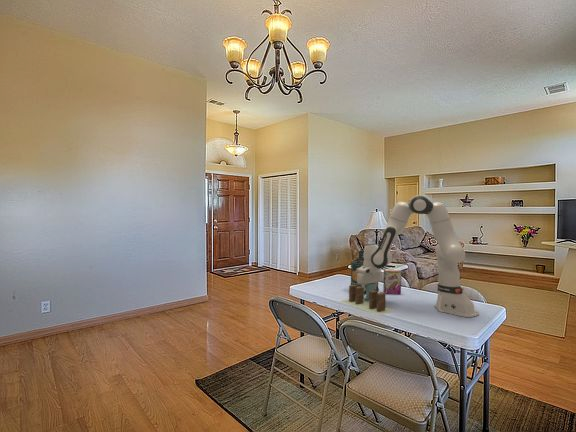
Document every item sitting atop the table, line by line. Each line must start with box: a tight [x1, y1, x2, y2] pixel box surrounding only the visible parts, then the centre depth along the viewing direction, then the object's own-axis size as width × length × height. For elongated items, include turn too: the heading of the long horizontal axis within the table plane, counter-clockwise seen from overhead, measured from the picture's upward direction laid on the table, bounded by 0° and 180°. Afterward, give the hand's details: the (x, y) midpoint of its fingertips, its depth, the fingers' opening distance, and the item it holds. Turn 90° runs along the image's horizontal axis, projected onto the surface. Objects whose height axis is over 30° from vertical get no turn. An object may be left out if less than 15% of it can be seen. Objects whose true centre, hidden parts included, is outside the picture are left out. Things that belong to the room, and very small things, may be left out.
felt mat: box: [339, 298, 396, 316], centre depth 185 cm, size 31×15×1 cm, turn 33°
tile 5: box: [348, 284, 357, 302], centre depth 194 cm, size 2×5×10 cm, turn 123°
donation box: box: [350, 250, 380, 295], centre depth 219 cm, size 16×16×28 cm
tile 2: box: [368, 290, 379, 309], centre depth 180 cm, size 2×5×10 cm, turn 123°
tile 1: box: [377, 292, 387, 312], centre depth 176 cm, size 2×5×10 cm, turn 123°
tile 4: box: [355, 286, 365, 304], centre depth 189 cm, size 2×5×10 cm, turn 123°
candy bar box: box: [383, 268, 402, 295], centre depth 215 cm, size 11×5×16 cm, turn 84°
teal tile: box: [365, 283, 374, 300], centre depth 200 cm, size 2×5×10 cm, turn 123°
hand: (369, 289), depth 200 cm, fingers open, 8 cm apart
